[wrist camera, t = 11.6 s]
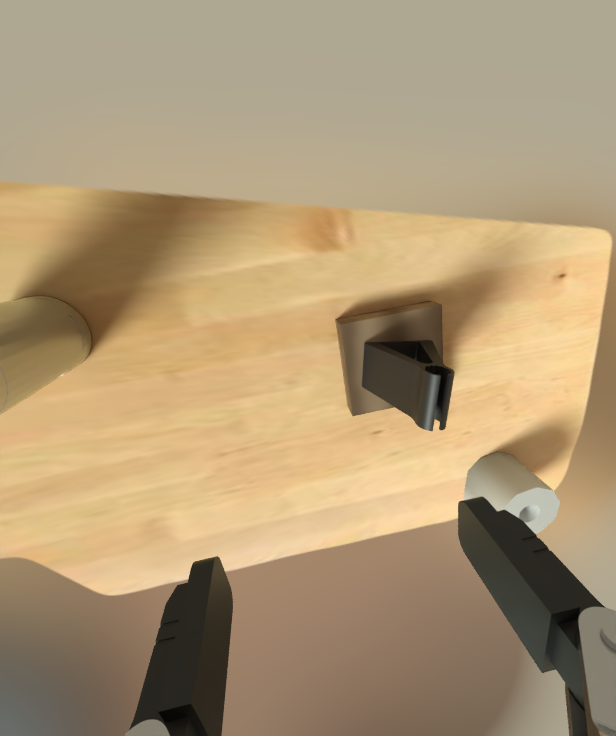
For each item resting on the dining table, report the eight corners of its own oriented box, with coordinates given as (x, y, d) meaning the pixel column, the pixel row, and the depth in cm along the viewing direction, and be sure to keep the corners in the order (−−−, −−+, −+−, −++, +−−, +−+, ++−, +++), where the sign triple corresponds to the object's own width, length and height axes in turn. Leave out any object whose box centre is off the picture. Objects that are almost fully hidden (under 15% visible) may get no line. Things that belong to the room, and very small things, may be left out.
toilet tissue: (459, 517, 59) (490, 560, 51) (471, 454, 54) (506, 490, 46) (506, 511, 59) (544, 553, 51) (522, 449, 55) (566, 484, 47)
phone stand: (431, 340, 43) (490, 373, 31) (425, 382, 45) (478, 428, 33) (363, 341, 42) (399, 377, 30) (360, 385, 44) (393, 433, 32)
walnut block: (347, 406, 48) (352, 416, 45) (335, 319, 43) (340, 324, 40) (433, 388, 49) (443, 396, 46) (430, 300, 44) (441, 304, 41)
